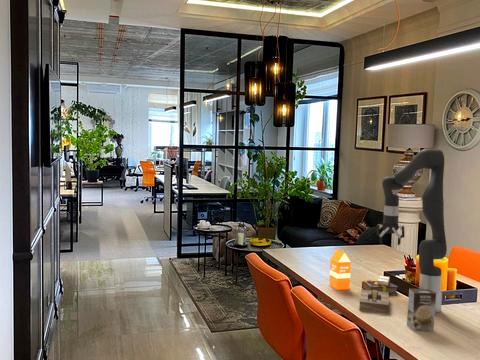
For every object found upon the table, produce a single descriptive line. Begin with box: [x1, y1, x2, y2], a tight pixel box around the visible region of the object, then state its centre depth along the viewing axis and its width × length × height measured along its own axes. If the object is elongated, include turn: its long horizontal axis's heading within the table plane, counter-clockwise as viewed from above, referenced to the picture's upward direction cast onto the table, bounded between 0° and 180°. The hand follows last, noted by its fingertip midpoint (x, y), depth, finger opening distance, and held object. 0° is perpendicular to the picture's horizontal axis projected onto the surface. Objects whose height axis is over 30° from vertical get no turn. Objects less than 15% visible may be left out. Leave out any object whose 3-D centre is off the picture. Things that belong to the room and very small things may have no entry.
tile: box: [377, 275, 390, 286], centre depth 249 cm, size 10×5×2 cm, turn 158°
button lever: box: [372, 290, 377, 302], centre depth 229 cm, size 10×2×4 cm, turn 163°
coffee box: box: [406, 288, 436, 332], centre depth 198 cm, size 9×6×16 cm
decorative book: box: [361, 280, 399, 295], centre depth 249 cm, size 11×16×5 cm
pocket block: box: [358, 289, 390, 314], centre depth 227 cm, size 20×13×4 cm, turn 163°
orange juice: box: [329, 248, 352, 291], centre depth 254 cm, size 8×9×20 cm
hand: (389, 244), depth 252 cm, fingers open, 8 cm apart
